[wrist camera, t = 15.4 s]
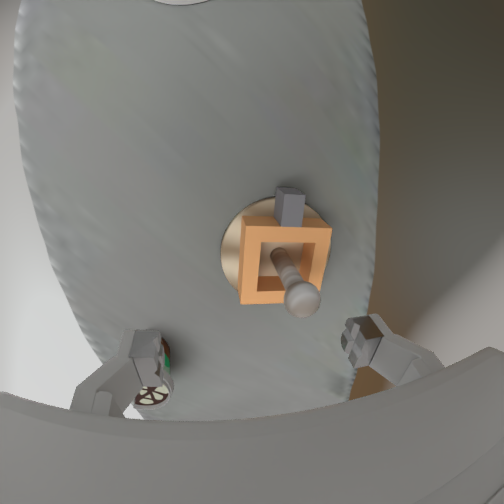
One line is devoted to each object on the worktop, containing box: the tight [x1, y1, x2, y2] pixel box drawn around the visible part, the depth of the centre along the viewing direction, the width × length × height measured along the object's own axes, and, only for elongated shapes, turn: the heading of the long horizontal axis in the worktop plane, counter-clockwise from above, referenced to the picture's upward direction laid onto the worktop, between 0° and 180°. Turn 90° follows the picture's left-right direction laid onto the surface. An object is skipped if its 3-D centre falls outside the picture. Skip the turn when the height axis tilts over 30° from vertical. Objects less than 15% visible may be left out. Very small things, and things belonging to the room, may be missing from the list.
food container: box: [134, 337, 174, 410], centre depth 41 cm, size 12×6×10 cm, turn 160°
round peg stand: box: [221, 197, 331, 318], centre depth 34 cm, size 16×16×14 cm
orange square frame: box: [237, 187, 332, 304], centre depth 36 cm, size 15×11×4 cm
